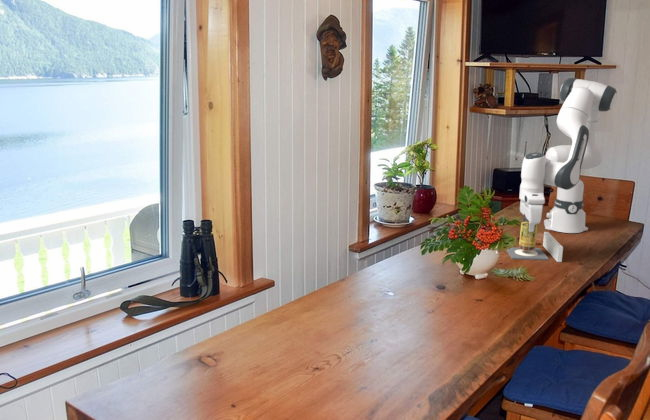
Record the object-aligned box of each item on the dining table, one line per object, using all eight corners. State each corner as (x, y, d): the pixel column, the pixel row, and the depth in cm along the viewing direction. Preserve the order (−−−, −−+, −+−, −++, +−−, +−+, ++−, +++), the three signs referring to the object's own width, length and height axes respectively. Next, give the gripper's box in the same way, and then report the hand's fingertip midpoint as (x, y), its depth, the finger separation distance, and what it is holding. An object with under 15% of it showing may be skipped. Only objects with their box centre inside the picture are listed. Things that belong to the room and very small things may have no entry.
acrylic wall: (542, 245, 259) (544, 231, 258) (546, 245, 259) (548, 231, 258) (557, 262, 238) (558, 247, 236) (561, 262, 238) (563, 247, 236)
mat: (505, 248, 255) (505, 246, 255) (539, 249, 254) (539, 247, 253) (512, 259, 241) (512, 257, 241) (548, 260, 240) (548, 258, 240)
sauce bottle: (517, 250, 245) (521, 201, 241) (519, 246, 251) (522, 198, 246) (535, 252, 243) (539, 203, 238) (536, 247, 249) (540, 199, 244)
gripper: (517, 189, 252) (514, 221, 255) (528, 200, 232) (526, 235, 235) (533, 189, 251) (530, 222, 255) (546, 200, 232) (543, 236, 235)
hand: (528, 228), depth 245 cm, fingers closed on sauce bottle, 6 cm apart
